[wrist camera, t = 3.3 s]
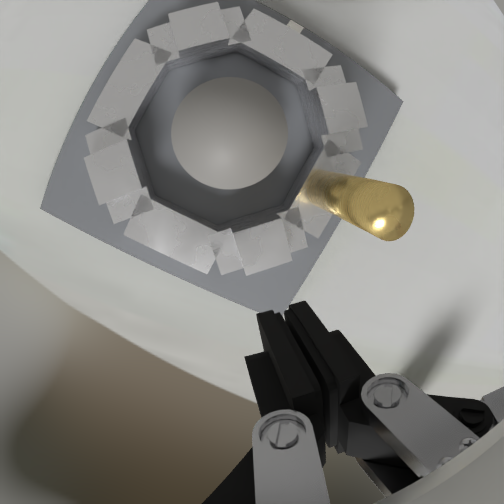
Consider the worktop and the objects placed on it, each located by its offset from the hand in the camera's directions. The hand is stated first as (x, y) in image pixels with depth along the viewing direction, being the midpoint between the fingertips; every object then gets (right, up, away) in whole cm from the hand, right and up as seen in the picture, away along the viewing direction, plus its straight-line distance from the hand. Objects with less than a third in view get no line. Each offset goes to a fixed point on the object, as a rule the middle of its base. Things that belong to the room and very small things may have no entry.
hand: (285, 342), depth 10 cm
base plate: (-3, +12, +12) cm, 17 cm away
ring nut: (-3, +11, +10) cm, 15 cm away
